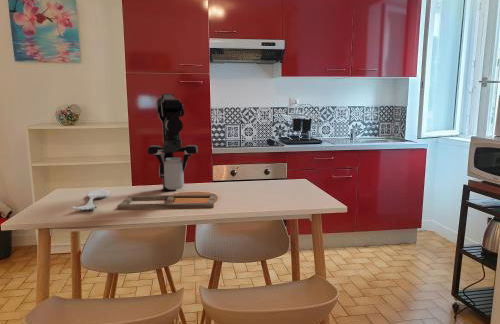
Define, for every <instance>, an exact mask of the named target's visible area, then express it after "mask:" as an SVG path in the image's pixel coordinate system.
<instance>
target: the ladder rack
mask: <svg viewBox="0 0 500 324" xmlns="http://www.w3.org/2000/svg"><path fill="white" fill-rule="evenodd" d="M174 198H210V199H209V202H208V203H173V202H172V201H173V199H174ZM165 199H167V200H165ZM215 200H216V194H209V193H208V194H167V195H166V194H161V195H160V194H159V195H158V194H157V195H156V194H155V195H150V194H148V195H128V196H126V198H124V199H123V201H121V202H120V203H119V204H118V205H117V206H116V207H117V210H118V211H120V210H124V211H125V210H165V209H166V210H167V209H173V210H175V209H177V210H178V209H213V208H214V207H215V203H216V202H215ZM134 201H164V203H132V202H134Z"/></svg>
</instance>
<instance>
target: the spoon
mask: <svg viewBox="0 0 500 324" xmlns="http://www.w3.org/2000/svg"><path fill="white" fill-rule="evenodd" d="M109 195H110V191H109V190H107V189H103V188H101V189H94V190H92V191H90V192H88V193H86V197H88V199H89V200H88V201H87V203H85V205H81V206H72V207H71V209H72V210H79V211H92V210H96V209H98V207H99V206H98V205H96V204H94V203H93V201H94V199H102V198H105V197H107V196H109Z"/></svg>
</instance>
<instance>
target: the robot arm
mask: <svg viewBox="0 0 500 324" xmlns="http://www.w3.org/2000/svg"><path fill="white" fill-rule="evenodd" d="M156 114H158V118H159V120H160V121H161V123H162V143H163V144H162V146H161V145H160V144H159V145H154V144H153V145H149V146H148V148H147V155H153V157H155V158H157V160H158V162H159V165H158V166H159V167H158V174H159V175H158V176H159V178H160V179H162V188H161V190H160V191H161V192H176V191H177V189H176V190H170V189H167V188H166V187H165V181H164V162H165V161H166V160H165V159H166V158H176V157H175V156H174V153H178V152H179V153H183V160H182V161H183V171H184V172H185V170H186V167H187V164H188V160H189V158H190V157H191V156H193V154H198V153H199V149H198V148H199V147H198V145H196V144H188V145H186V146H183V142H182V138H181V131H182V130H183V126H184V124H183V121H182V120H181V119H180V118H182V117H184V115H185V109H184V104H183V103H182V101H180V98H175V97H174V94H173V93H161V95H160V98H159V99H157V101H156Z"/></svg>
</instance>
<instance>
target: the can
mask: <svg viewBox="0 0 500 324" xmlns="http://www.w3.org/2000/svg"><path fill="white" fill-rule="evenodd" d="M165 160H166V161H165V162H164V181H165V187H166V188H167V189H170V190H176V191H177V190H180V189H182V188H183V187H184V186H185V179H184V178H185V175H184V174H185V173H184V172H185V171H183V161H184V160H182V157H175V158H166V159H165Z"/></svg>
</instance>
